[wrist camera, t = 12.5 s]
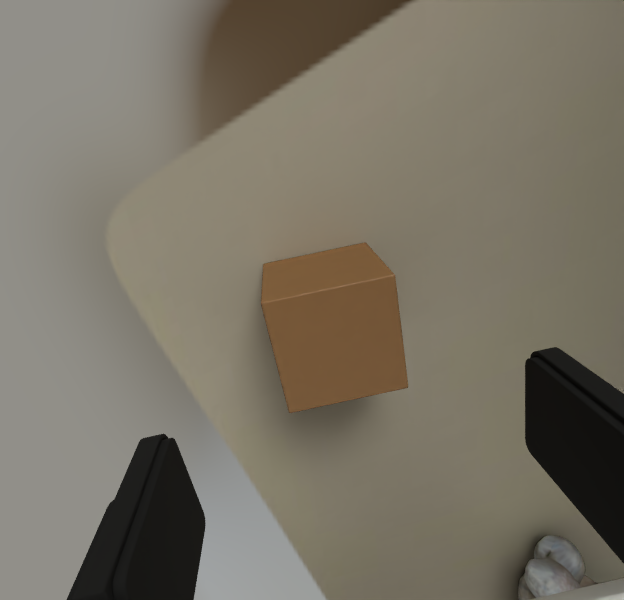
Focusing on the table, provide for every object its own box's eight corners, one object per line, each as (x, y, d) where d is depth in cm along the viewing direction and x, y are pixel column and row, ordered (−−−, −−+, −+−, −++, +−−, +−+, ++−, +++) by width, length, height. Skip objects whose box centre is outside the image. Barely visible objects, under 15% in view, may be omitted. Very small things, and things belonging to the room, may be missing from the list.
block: (263, 263, 18) (260, 303, 14) (365, 242, 18) (395, 274, 14) (284, 354, 20) (289, 413, 16) (379, 334, 20) (408, 388, 16)
